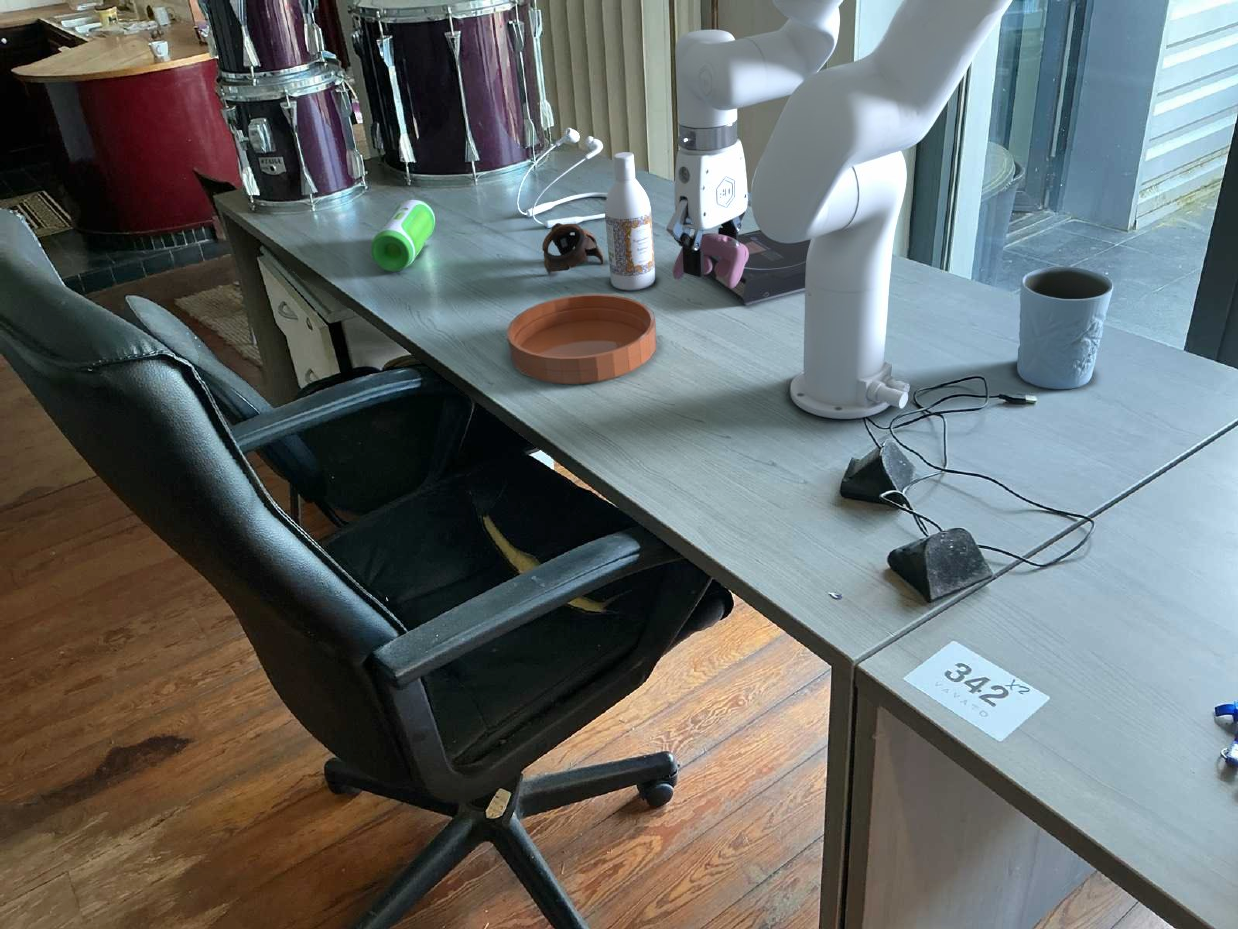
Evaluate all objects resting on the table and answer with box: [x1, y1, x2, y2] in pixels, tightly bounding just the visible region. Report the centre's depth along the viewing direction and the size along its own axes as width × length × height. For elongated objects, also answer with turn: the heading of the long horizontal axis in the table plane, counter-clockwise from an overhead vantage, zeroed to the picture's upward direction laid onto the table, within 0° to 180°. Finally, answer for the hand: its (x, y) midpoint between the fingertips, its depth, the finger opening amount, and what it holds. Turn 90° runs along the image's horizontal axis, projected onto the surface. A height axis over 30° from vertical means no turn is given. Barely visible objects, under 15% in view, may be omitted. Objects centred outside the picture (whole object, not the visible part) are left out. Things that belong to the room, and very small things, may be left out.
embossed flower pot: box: [1016, 266, 1114, 390], centre depth 125 cm, size 10×10×12 cm
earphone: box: [516, 127, 608, 229], centre depth 190 cm, size 14×17×18 cm
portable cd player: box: [703, 229, 811, 306], centre depth 160 cm, size 16×17×4 cm
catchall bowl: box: [506, 293, 658, 385], centre depth 143 cm, size 20×20×4 cm
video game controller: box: [672, 232, 749, 289], centre depth 143 cm, size 10×5×7 cm, turn 58°
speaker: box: [371, 199, 436, 273], centre depth 178 cm, size 18×7×8 cm, turn 175°
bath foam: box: [604, 151, 656, 291], centre depth 157 cm, size 7×7×20 cm
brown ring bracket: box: [541, 223, 605, 276], centre depth 169 cm, size 12×10×8 cm
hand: (711, 264), depth 143 cm, fingers closed on video game controller, 6 cm apart
